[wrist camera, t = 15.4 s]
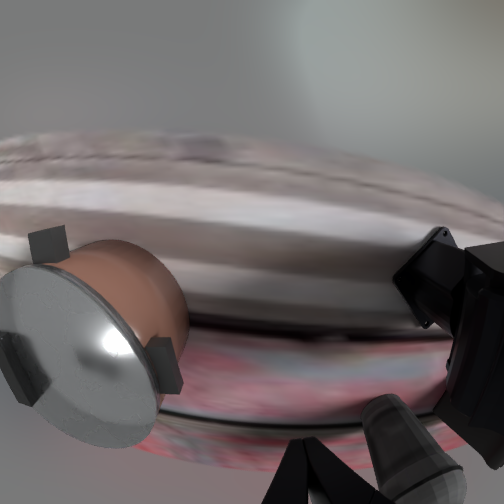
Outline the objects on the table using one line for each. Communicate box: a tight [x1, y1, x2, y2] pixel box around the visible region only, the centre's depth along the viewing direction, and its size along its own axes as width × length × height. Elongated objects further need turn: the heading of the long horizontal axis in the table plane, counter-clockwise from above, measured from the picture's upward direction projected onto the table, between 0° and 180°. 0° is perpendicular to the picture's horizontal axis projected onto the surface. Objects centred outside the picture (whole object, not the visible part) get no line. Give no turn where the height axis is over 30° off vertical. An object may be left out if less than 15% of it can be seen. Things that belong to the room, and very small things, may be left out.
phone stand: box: [433, 390, 504, 470], centre depth 17 cm, size 9×6×12 cm, turn 74°
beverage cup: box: [361, 394, 467, 504], centre depth 13 cm, size 7×7×20 cm
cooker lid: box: [0, 264, 160, 448], centre depth 12 cm, size 12×12×2 cm
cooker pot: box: [28, 225, 189, 409], centre depth 17 cm, size 13×16×8 cm
